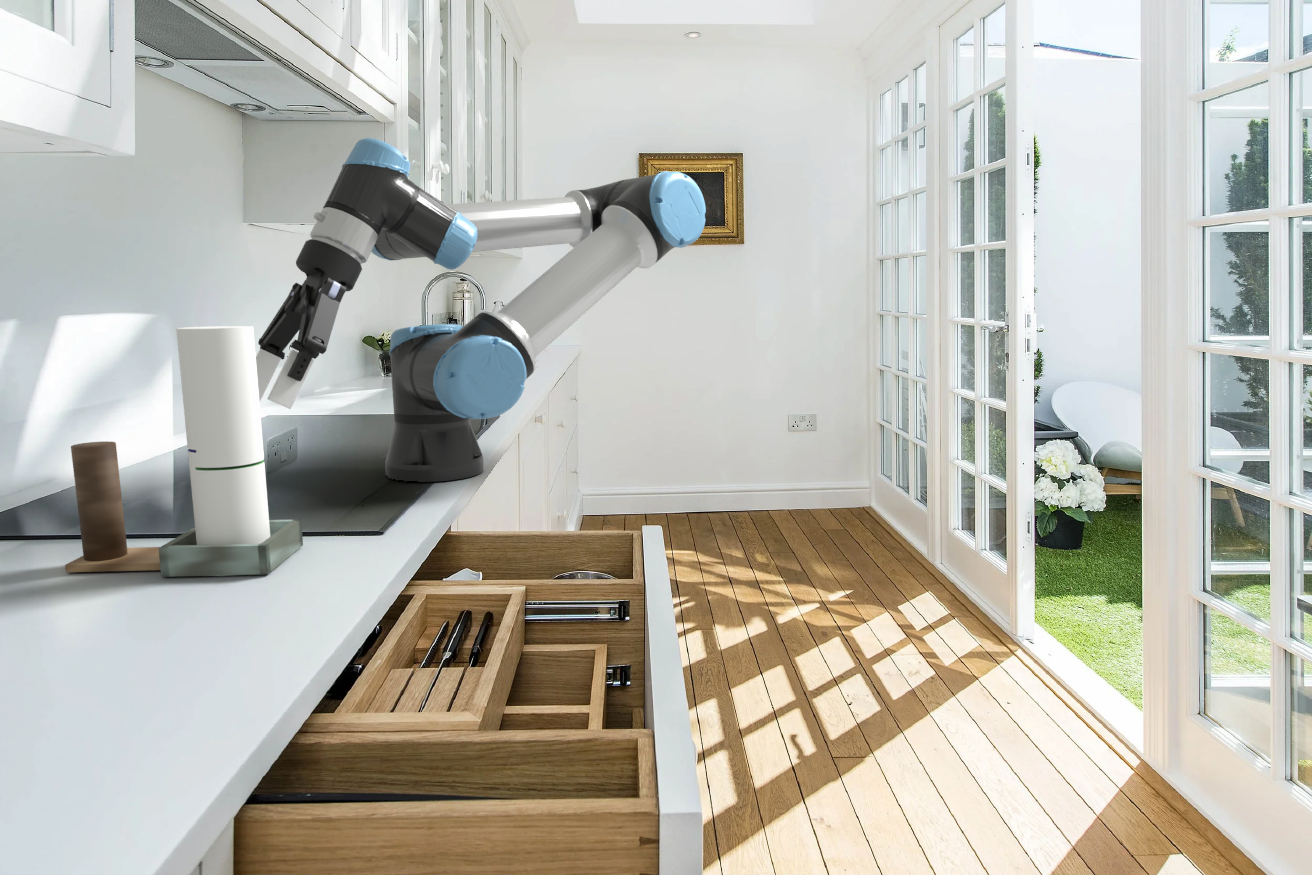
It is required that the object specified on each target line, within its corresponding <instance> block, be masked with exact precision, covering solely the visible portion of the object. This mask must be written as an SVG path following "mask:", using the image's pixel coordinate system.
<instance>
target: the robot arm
mask: <svg viewBox="0 0 1312 875" xmlns="http://www.w3.org/2000/svg"><path fill="white" fill-rule="evenodd" d="M345 160H346V161H345V162H344V163H343V164H342V166H341V170H340V172H339V174H338V176H337V178H336V181H335V182H334V184H333V187H332V189H331V191H330V193H329V195H328V198H327V199H326V202H325V203H324V205H323V207H322V209H321V211H320V212H319V211H317V212H315V213H314V214H313V218H314V219H315V221H316V223H314V225H313V228H312V229H311V231H310V238H311V239H308V240H306V241H305V242H304V245H302V248H301V251H300V252H299V254H298V255H297V256H298V257H297V258H296V261H295V265H296V268H298V269H299V270H300V271H301V272H302V273H304V275H305V276H306V279H305V280H304V281H303V282H302V284H300V283H298V282H295V283H294V284H293V285H292V288H291V289H290V292H289V293H288V295H287V297H286V299H285V300H284V302H283V303H282V305H281V306H280V308H279V309H278V311H277V312H276V314H275V316H274V317H273V319H272V320H271V321H270V323H269V324H268V326H267V327H266V330H264V332H263V334H262V335H261V336H260V338H259V339H258V342H257V343H258V344H257V345H259V351H257V353H256V354H257V355H256V365H257V377H258V390H259V402H261V401H262V398H263V397H264V395H265V392H266V390H267V388H268V386H269V384H270V382H271V380H272V378H273V376H274V374H275V372H276V369H277V367H278V366H279V364H280V362H281V360H285V357H286V352H284V350H285V349H286V348H287V346H288V345H289V348H291V350H290V352H289V354H288V355H287V358H286V360H285V362H284V364H283V366H282V368H281V370H280V372H279V374H278V376H277V378H276V380H275V383H273V384H274V385H273V386H272V388H271V390H270V392H269V394H268V396H267V400H268V401H271V402H273V403H276V404H278V405H279V406H283V407H284V408H287V409H290V410H291V409H292V407H293V404H294V402H295V400H296V399H297V396H298V394H299V393H300V391H301V388H302V386H303V384H304V382H305V380H306V378H307V375H308V373H309V371H310V369H311V367H312V365H313V364H314V362H315V359H317V358H318V357H319V356H320V354H321V355H324V354H325V353H326V351H327V349H328V345H329V342H330V338H331V335H332V332H333V329H334V324H335V322H336V319H337V318H336V317H337V315H338V311H339V308H340V304H341V302H342V300H343V297H344V295H345V293H346V292H350V291H352V290H353V289H354V287H355V285H356V283H357V281H358V279H359V277H360V275H361V273H362V270H363V267H362V265H361V264H365V263H366V262H368V259H369V257H370V255H371V253H372V254H373V255H375V256H376V257H377V258H380V259H382V260H383V259H384V260H386V261H400V260H405V259H406V260H407V259H418V258H427V259H429V260H431V261H432V262H433V263H434V264H435V265H438V266H439V265H440V266H441V267H443V268H445V269H447V270H455V269H457V268H460V267H461V266H462V265H463V264H464V263H465V262H466V261H467V259H469V258H470V256H471V254H472V253H478V252H479V253H480V252H487V251H488V252H490V251H500V250H508V249H509V250H510V249H512V250H513V249H522V248H531V247H532V248H533V247H534V248H535V247H543V246H544V247H545V246H553V245H554V246H555V245H556V246H557V245H565V244H569V246H570V247H572V249H571V250H569V251H568V252H567V253H566V254H565V255H564V256H563V257H562V258H560V259H559V260H558V261H556V262H555V263H554V264H553V265H552V266H550V267H549V268H548V269H547V270H546V271H545V272H543V273H542V274H541V275H540V276H539V277H538V278H536V279H535V280H533V282H532V283H530V284H529V285H528V286H526V287H525V289H523V290H521V292H519V293H518V294H517V295H516V296H515V297H514V298H513V299H511V300H510V301H509V302H508V303H506V304H505V305H504V306H503V307H501V309H499V310H498V311H497V312H492V311H491V312H490V311H481V312H479V313H478V314H477V315H475V316H474V317H473V318H472V319H470V321H468V322H467V323H466V324H465V325H461V324H455V323H454V324H453V323H452V324H451V323H449V324H448V323H446V324H445V323H443V324H438V323H437V324H425V325H416V326H408V327H402V328H398V329H396V330H394V331H393V332H392V333H391V335H390V343H389V345H390V346H389V347H390V348H389V350H388V354H389V357H390V358H389V359H390V371H391V372H390V373H391V374H390V375H391V388H392V399H393V401H392V402H393V403H392V404H393V416H394V417H393V418H394V419H393V420H394V422H393V423H394V429H393V433H392V436H391V439H390V442H389V445H388V446H389V447H388V449H387V450H388V451H387V454H386V458H385V462H384V463H385V464H384V466H385V467H384V469H385V476H386V475H387V476H388V477H389V478H388V477H387V478H388V479H390V478H393V479H397V480H396V481H398V480H405V481H404V482H407V481H418V482H417V483H436V482H448V481H456V480H462V479H466V478H471V477H475V476H477V475H479V474H482V473H483V472H484V471H485V470H484V469H485V466H484V456H483V453H482V450H481V448H480V445H479V442H478V440H477V437H476V435H475V431H474V429H473V427H472V422H471V420H485V419H486V420H487V419H492V418H496V417H499V416H501V415H503V414H505V413H506V412H508V411H510V410H511V409H512V408H513V407H514V406H515V405H516V404H517V403H518V402H519V400H520V399H521V398H522V397H521V396H522V395H523V392H524V391H525V382H526V380H527V379H528V378H529V377H530V376H531V375H532V374H533V373H534V372H535V370H536V357H537V356H538V355H539V354H541V353H542V352H543V351H545V349H546V348H548V347H549V346H550V344H552V343H553V342H554V341H555V340H557V338H558V337H559V336H561V335H562V334H563V333H564V332H565V331H567V330H568V329H569V328H570V327H571V326H572V325H573V324H574V323H575V322H576V321H578V320H579V319H580V318H581V317H583V315H585V313H587V312H588V311H589V310H590V309H591V308H592V307H594V306H595V305H596V304H597V303H598V302H599V301H600V300H601V299H602V298H604V297H605V296H606V295H608V293H609V292H610V291H612V289H614V288H615V287H616V286H617V285H618V284H620V283H621V281H622V280H624V279H625V278H626V277H628V276H629V275H630V274H631V273H632V272H633V271H634V270H635V269H636V268H640V269H649V268H652V267H653V266H654V265H655V264H656V263H658V262H659V261H660V260H661V259H662V258H663V257H664V256H666V255H667V254H668V253H669V252H670V251H672V250H673V249H674V248H680V249H681V248H682V249H683V248H685V247H687V246H690V245H693V244H694V243H695V242H696V241H698V239H699V238H700V237H701V235H702V233H703V230H704V228H705V225H706V213H707V210H706V209H707V207H706V202H705V199H704V196H703V193H702V191H701V189H700V187H699V186H698V184H697V182H696V181H695V180H694V179H693V178H691V177H690V176H689V175H687V174H685V173H683V172H680V171H667V170H665V171H661V172H659V173H657V174H651V175H645V176H639V177H633V178H626V179H622V180H618V181H613V182H611V183H608V184H603V185H601V186H595V187H592V188H591V187H590V188H585V189H574V190H570V191H568V192H567V193H566V194H565V196H563V197H560V196H559V197H547V198H531V199H530V198H529V199H527V198H526V199H516V200H515V199H514V200H497V201H483V202H481V201H480V202H464V203H450V204H449V203H448V204H446V203H444V202H442V201H441V200H439V199H438V198H437V197H434V196H433V195H432V194H430V193H428V192H427V191H425V190H424V189H423V188H421V187H419V185H416V184H415V182H413V181H412V180H410V179H409V177H410V171H411V163H410V160H409V159H408V157H407V156H405V155H403V153H402V152H401V150H399V149H398V148H396V147H395V146H394V145H392V144H390V143H387V142H386V141H383V140H381V139H376V138H371V137H364V138H361V139H359V140H358V141H357V142H356V143H355V144H354V147H353V149H352V150H351V152H350V154H349V155H348V156H347V158H346V159H345ZM297 334H298V335H297ZM296 335H297V339H294V338H295V336H296ZM293 339H294V340H293ZM292 340H293V341H292ZM291 341H292V342H291ZM289 343H290V344H289ZM393 479H392V480H393Z"/></svg>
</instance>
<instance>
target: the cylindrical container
mask: <svg viewBox="0 0 1312 875" xmlns="http://www.w3.org/2000/svg"><path fill="white" fill-rule="evenodd" d="M176 338H177V340H176V341H177V348H178V349H177V350H178V360H179V369H180V370H179V372H180V381H181V391H182V392H181V393H182V402H183V404H182V405H183V413H184V414H183V415H184V422H185V433H186V444H187V454H188V456H187V458H188V464H189V465H188V466H189V467H188V468H189V476H190V488H191V497H192V498H191V499H192V507H193V518H194V519H193V520H194V527H195V531H196V541H197V545H220V544H261V543H262V542H264V541H265V540H266V539H268V538H269V537H270V526H269V520H270V515H269V504H268V489H267V478H266V466H265V460H264V459H265V453H264V441H263V439H264V438H263V428H262V419H261V418H262V415H261V414H262V413H261V403H260V402H261V401H260V402H259V390H258V377H257V365H256V356H257V355H256V354H257V353H256V342H255V332H254V326H252V325H251V326H250V325H220V326H219V325H216V326H215V325H214V326H212V325H211V326H190V327H189V326H186V327H185V326H184V327H176Z"/></svg>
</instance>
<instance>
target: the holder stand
mask: <svg viewBox="0 0 1312 875" xmlns="http://www.w3.org/2000/svg"><path fill="white" fill-rule="evenodd" d="M117 449H118V448H117V443H116V441H107V440H106V441H91V442H83V443H77V444H72V445H71V446H70V453H71V461H72V468H73V478H74V485H75V494H76V503H77V511H78V520H79V528H80V531H79V532H80V536H81V537H80V538H81V545H82V546H81V547H82V548H81V549H82V556H79V557H78V558H75V559H73V560H72V561H69V562H68V563H66V564H64V568H65V573H93V572H129V571H130V572H133V571H134V572H136V571H137V572H138V571H139V572H140V571H141V572H142V571H160V576H161V578H163V577H166V578H167V577H201V576H202V577H204V576H205V577H206V576H208V577H210V576H239V575H241V576H243V575H244V576H245V575H246V576H247V575H269V574H270V573H271V572H273V571H274V570H275V569H276V568H277V567H279V566H280V565H281V564H282V563H284V562H285V561H286V560H287V559H288V558H289V557H291V556H292V555H293V554H294V553H295V552H297V551H299V549H301V548H302V547H303V545H304V542H303V540H304V539H303V526H302V519H298V518H297V519H269V526H270V537H269V538H268V539H266V540H265V541H264V542H262V543H261V544H220V545H197V541H196V531H195V526H194V527H193V528H190V529H189V530H188V531H185V532H184V533H182V534H181V535H178V536H177V537H175V538H173V539H172V540H170V541H168V542H166V543H165V544H163V545H161V546H147V547H146V546H145V547H143V546H142V547H140V546H139V547H128V545H127V535H126V524H125V515H124V507H123V497H122V489H121V488H122V487H121V480H120V478H121V477H120V469H119V461H118V451H117Z"/></svg>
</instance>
